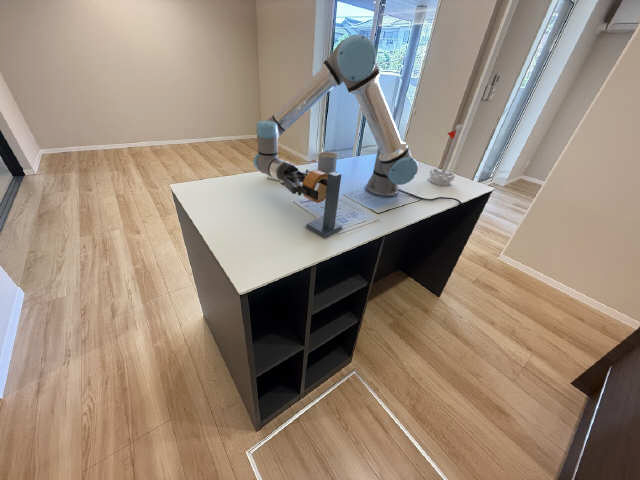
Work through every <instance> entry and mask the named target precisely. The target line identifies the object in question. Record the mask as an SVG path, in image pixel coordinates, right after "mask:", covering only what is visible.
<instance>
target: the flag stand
mask: <svg viewBox="0 0 640 480" xmlns="http://www.w3.org/2000/svg"><path fill="white" fill-rule="evenodd" d="M462 130H463V125H462V124H457V125H456V127H455V130H453V131H449V132H447V133H446V134H447V135H448V136H449V137H450V138H451V139H452V142H451V145H450V148H449V149H448V153H447V155H446V159H445V161H444V164H443V166H442V168H441V170H439V168H433V169H430V171H429V174H428V175H429V179H428V180H429V182H430V183H432V184H434V185H438V186H442V187H443V186H445V187H446V186H450V185H451V182H453V181H454V180H455V178H456V174H455V173H454V172H452V171H449V172H447V166H448V164H449V161H450V158H451V156H452V153H453V151H454V149H455V145H456V142H457V140H458V137H459V134H460V132H461V131H462Z"/></svg>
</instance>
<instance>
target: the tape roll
mask: <svg viewBox="0 0 640 480" xmlns="http://www.w3.org/2000/svg"><path fill="white" fill-rule="evenodd" d="M321 179H325V180H327V179H328V174H326V173H323V172H321V171H318V169H313V170H310V172H309V173H308V174H307V175H306V176H305V178H304V181H303V182H301V185H302V186H303V185H305V186H307V187H310V188H312V189H314V190H316V191H318V200H315V199H313V198H311V197H309V196H307V195H304V194H302V195H303V197H304V198H305V199H308V200H309V201H312V202H313V203H316V204H319V203H322V202H324V201H325V199H326V189H327V186H325V185H323V184H321V183H318V182H319V181H320V180H321ZM317 185H318V186H317Z"/></svg>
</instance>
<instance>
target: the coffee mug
mask: <svg viewBox="0 0 640 480" xmlns="http://www.w3.org/2000/svg"><path fill="white" fill-rule="evenodd" d="M337 163H338V154H337V153H336V152H334V151H333V152H332V151H320V152H319V153H318V161H317V170H318V171H321V172H323V173H326V174H328V173H331V172H337Z"/></svg>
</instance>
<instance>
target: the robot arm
mask: <svg viewBox="0 0 640 480" xmlns="http://www.w3.org/2000/svg"><path fill="white" fill-rule="evenodd" d="M380 74H381V71H380V69H379V65H378V63H377V50H376V48H375V44H374V43H373V41H371V39H370V38H369V37H367V36H366V35H362V34H352V35H351V34H350V35H349V36H347V37H346V38H344V39H343V40H342V41H340V42H339V43H338V44H337V46H336V47H335V48H334V50H333V51H332V53H331V54H330V55H329V56H328V57H327V58H326V59H325V60H324V61H323V62H322V63H321V68H320V69H319V70H318V71H317V72H316V73H315V74H314V75H313V76H312V77H311V78H310V79H309V80H308V81H307V82H306V83H305V84H304V85H303V86H302V87H300V88H299V89H298V90H297V91H296V92H295V93H294V94H293V95H292V96H290V98H289V99H288V100H287V101H286V102H285V103H284V104H282V106H281V107H279V109H278V110H276V112H274V113H273V114H272V116H270V117H269V118H268V119H266V120H259V121H258V122H256V139H257V153H256V154H255V155H254V158H253V166H254V168H255V169H256V170H257V171H259V172H260V173H261V174H265V175H266V176H268V175H269V176H271V177H273V178H275V179H277V180H276V181H278V182H279V183H280V185H281V186H284V188H286V189H287V190H288V191H289V192H290V193H291V194H293V195H296V194H297V196H302V195H303V194H304V195H307V196H309V197H311V198H313V199H315V200H318V191H316V190H317V189H315V190H314V189H312V188H310V187H307V186H305V185H303V186H302V183H303V181H304V178H305V176H306V175H307V174H308V173H309V172H310V171H311V170H310V169H306V170H305V171H302V170H299V169H298V167H297V166H296V165H295V164H294V163H290V162H289V161H286V160H283V159H281V158H279V142H278V141H279V137H281V136H282V135H283V134H284V133H285V132H286V131H287V130H288V129H289V128H290V127H291V126H292V125H294V124H295V123H296V122H297V121H298V120H299V119H300V118H301V117H303V115H305V114H306V113H307V112H309V110H310V109H311V108H312V107H314V105H316V104H317V103H318V102H319V101H321V99H322V98H323V97H325V96H326V95H327V94H328V93H329V92H330V91H331V90H332V89H333V88H334V87H335V88H338V87H340V86H341V85H342V84H343V83H344V85H345V87H346V89H347V92H348V93H349V94H352V95H354V97H355V98H356V101H357V103H358V105H359V108H360V110H361V112H362V114H363V116H364V119H365V121H366V123H367V125H368V128H369V129H370V132H371V134H372V136H373V139H374V141H375V143H376V145H377V152H376V156H375V160H374V161H375V162H374V167H373V172H372V174H371V176H370V178H369V179H368V181H367V184H366V187H365V188H366V191H367V192H369V193H370V194H372V195H374V196H378V197H381V198H382V197H383V198H392V197H395V196H397V194H398V192H400V193H403V194H406V195H407V196H411V197H414V198H415V199H419V200H423V201H436V200H440V199H441V200H453V201H456V202H458V203H459V205H463V202H462V201H461V200H460V199H457V198H455V197H448V196H446V197H445V196H437V197H434V198H426V197H421V196H418V195H415V194H413V193H409V192H407V191H404V190H401V189H399V185H400V186H402V185H406V184H408V183H410V182H411V181H412V180H414V178H415V177H416V175H417V173H418V171H419V164H418V162H417V160H416V158H414V157H413V155H412V153H411V151H410V148H409V144H407V142H404V141H402V139H401V137H400V134H399V131H398V129H397V126H396V124H395V121H394V119H393V116H392V114H391V110H390V108H389V105H388V103H387V101H386V98H385V96H384V95H385V94H384V93H383V89H382V87H381V85H380V82H379V77H380ZM304 195H303V196H304Z"/></svg>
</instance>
